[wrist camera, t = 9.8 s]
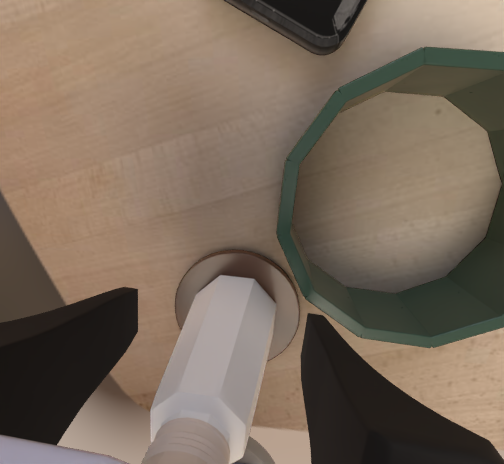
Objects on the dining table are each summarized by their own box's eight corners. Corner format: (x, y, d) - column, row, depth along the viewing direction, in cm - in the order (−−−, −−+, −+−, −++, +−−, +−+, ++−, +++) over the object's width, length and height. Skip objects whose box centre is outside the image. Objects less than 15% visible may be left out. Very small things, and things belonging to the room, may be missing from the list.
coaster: (290, 369, 20) (290, 375, 19) (175, 351, 20) (172, 356, 20) (307, 258, 18) (308, 261, 17) (179, 242, 18) (176, 244, 18)
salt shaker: (180, 325, 19) (49, 537, 8) (214, 257, 18) (109, 406, 7) (253, 363, 19) (216, 619, 8) (294, 298, 18) (309, 507, 7)
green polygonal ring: (472, 312, 17) (535, 364, 13) (269, 285, 18) (265, 324, 14) (544, 91, 14) (658, 61, 10) (295, 72, 15) (300, 37, 11)
